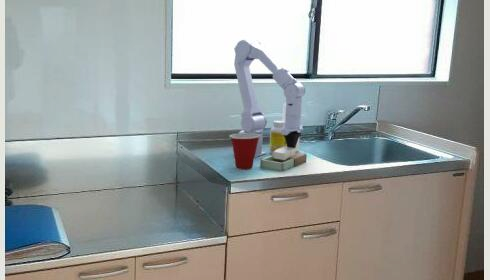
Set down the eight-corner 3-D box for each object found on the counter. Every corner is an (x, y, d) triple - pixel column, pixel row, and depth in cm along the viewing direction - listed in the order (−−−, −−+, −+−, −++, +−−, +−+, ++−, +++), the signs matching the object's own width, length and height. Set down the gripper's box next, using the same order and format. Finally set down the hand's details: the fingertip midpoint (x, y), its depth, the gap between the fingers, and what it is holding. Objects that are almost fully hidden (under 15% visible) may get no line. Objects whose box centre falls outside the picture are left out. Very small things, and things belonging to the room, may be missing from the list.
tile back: (279, 155, 198) (279, 148, 198) (284, 152, 202) (284, 146, 202) (290, 156, 196) (290, 150, 196) (295, 154, 200) (295, 148, 200)
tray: (259, 167, 191) (260, 159, 191) (271, 162, 199) (271, 155, 198) (282, 171, 187) (283, 163, 186) (293, 166, 195) (294, 158, 194)
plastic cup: (238, 162, 197) (239, 130, 195) (264, 167, 192) (265, 134, 190) (222, 167, 188) (223, 134, 186) (248, 173, 183) (250, 138, 180)
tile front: (273, 158, 195) (273, 151, 194) (278, 154, 198) (278, 148, 198) (284, 160, 192) (284, 153, 192) (289, 156, 196) (290, 150, 195)
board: (270, 162, 199) (270, 154, 199) (282, 157, 208) (282, 150, 207) (294, 166, 194) (295, 158, 194) (306, 161, 203) (306, 153, 202)
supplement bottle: (286, 155, 212) (288, 123, 210) (269, 154, 212) (271, 122, 210) (285, 151, 219) (287, 120, 216) (269, 151, 219) (270, 119, 216)
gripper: (294, 118, 191) (292, 156, 194) (310, 114, 204) (308, 149, 206) (277, 116, 195) (275, 153, 197) (293, 112, 207) (291, 147, 210)
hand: (291, 151), depth 202 cm, fingers closed
